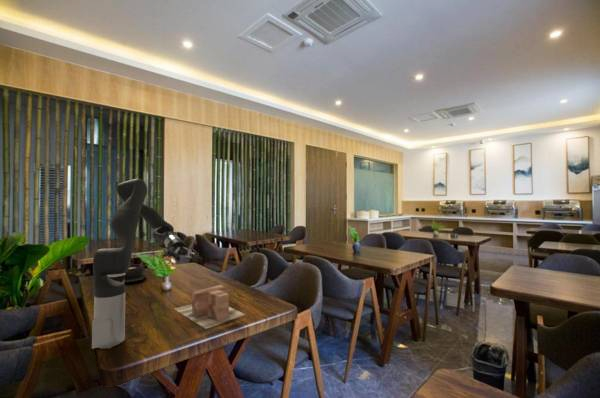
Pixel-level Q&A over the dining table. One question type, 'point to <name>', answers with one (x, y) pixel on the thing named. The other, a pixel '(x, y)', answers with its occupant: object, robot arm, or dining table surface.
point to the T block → (211, 302)
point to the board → (207, 320)
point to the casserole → (134, 273)
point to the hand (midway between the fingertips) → (188, 259)
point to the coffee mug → (117, 277)
